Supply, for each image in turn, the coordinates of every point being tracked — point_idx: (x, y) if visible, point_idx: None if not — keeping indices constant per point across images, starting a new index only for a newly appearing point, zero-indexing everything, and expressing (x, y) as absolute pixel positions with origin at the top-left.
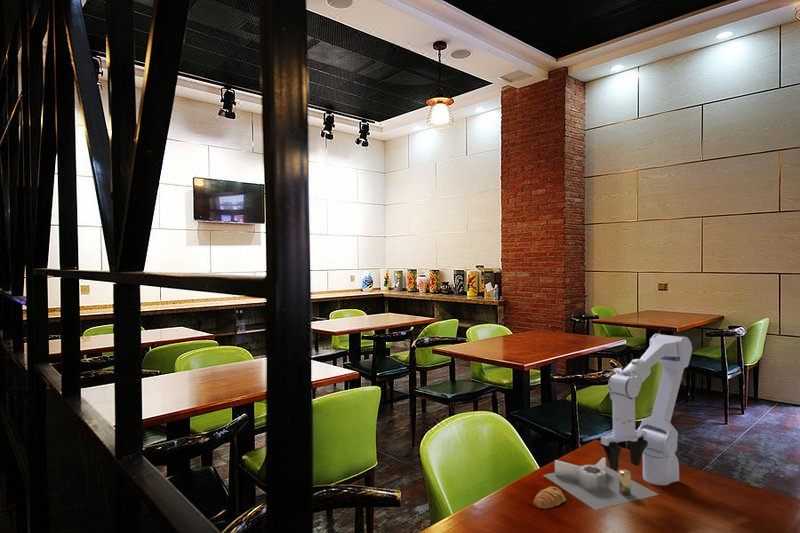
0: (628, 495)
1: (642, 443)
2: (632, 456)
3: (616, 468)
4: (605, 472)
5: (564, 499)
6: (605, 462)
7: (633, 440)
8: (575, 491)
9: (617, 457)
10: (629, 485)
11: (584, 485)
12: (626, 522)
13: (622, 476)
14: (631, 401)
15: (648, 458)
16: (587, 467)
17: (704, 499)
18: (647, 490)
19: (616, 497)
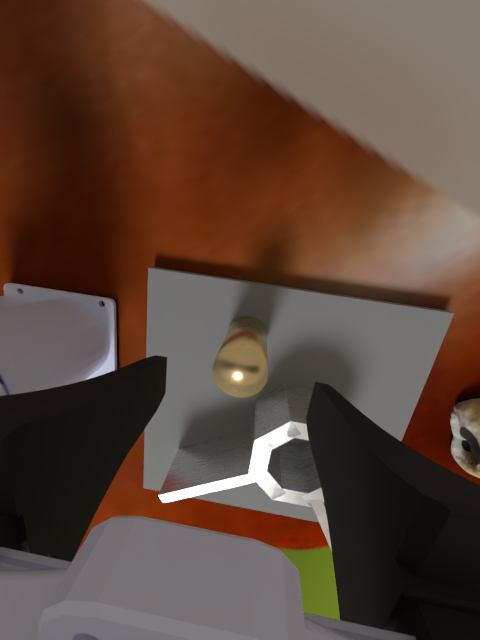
0: (253, 317)
1: (12, 433)
2: (144, 414)
3: (331, 388)
4: (181, 448)
5: (476, 409)
6: (167, 478)
7: (273, 585)
8: (380, 425)
9: (371, 433)
10: (245, 328)
11: None
12: (412, 213)
13: (267, 360)
14: None
15: (27, 387)
16: (291, 487)
17: (15, 176)
18: (159, 307)
19: (301, 331)
